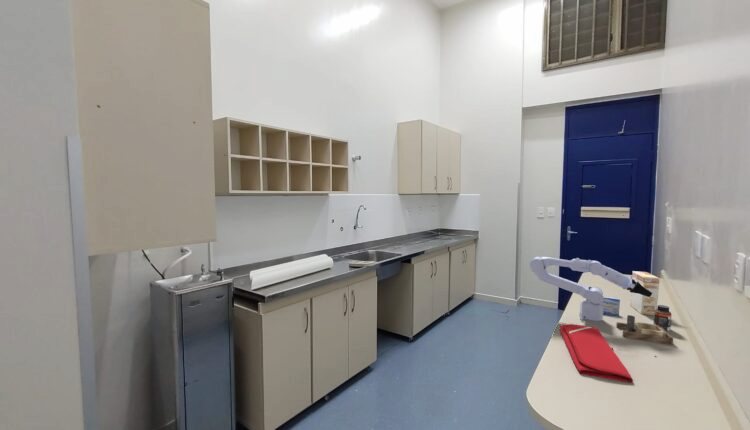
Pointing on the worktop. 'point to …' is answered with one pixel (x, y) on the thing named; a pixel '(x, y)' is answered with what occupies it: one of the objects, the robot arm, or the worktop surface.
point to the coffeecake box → (640, 301)
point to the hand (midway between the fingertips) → (648, 294)
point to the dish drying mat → (593, 353)
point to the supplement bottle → (662, 317)
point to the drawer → (644, 327)
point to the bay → (645, 335)
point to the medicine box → (611, 305)
